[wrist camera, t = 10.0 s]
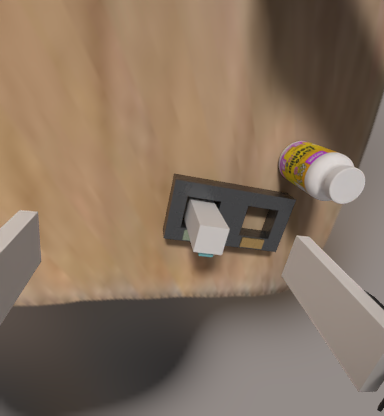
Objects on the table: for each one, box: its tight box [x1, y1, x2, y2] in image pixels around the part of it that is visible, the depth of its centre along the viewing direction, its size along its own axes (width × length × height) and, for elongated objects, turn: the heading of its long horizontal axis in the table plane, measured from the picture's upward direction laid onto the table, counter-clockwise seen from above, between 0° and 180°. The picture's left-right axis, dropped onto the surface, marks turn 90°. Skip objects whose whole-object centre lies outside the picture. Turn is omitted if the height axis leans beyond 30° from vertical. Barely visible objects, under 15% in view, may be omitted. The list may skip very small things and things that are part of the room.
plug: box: [184, 196, 230, 257], centre depth 40 cm, size 5×4×11 cm
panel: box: [163, 174, 296, 252], centre depth 45 cm, size 10×20×3 cm, turn 77°
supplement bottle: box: [279, 141, 365, 204], centre depth 38 cm, size 7×7×13 cm
